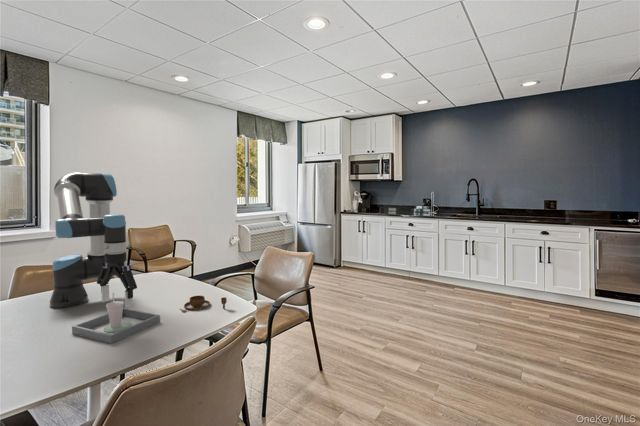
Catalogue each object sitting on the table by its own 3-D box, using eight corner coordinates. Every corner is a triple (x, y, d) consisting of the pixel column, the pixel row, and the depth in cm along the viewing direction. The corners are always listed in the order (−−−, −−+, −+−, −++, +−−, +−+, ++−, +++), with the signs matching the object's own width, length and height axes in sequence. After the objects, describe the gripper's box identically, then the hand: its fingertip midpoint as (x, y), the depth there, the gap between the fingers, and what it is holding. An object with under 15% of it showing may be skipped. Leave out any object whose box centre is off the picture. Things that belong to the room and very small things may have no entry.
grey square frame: (72, 333, 129) (71, 326, 129) (123, 314, 149) (123, 307, 149) (111, 343, 121) (110, 335, 121) (160, 321, 141) (159, 314, 141)
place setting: (208, 300, 171) (207, 289, 171) (229, 309, 158) (229, 297, 157) (174, 308, 158) (174, 296, 158) (194, 320, 145) (194, 307, 144)
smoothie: (112, 323, 138) (110, 290, 137) (127, 322, 139) (126, 290, 138) (103, 329, 132) (102, 295, 131) (120, 329, 133) (119, 295, 132)
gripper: (85, 251, 134) (87, 301, 136) (129, 257, 125) (130, 311, 127) (103, 248, 141) (105, 296, 143) (146, 253, 132) (147, 304, 134)
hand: (117, 303), depth 135 cm, fingers open, 13 cm apart
